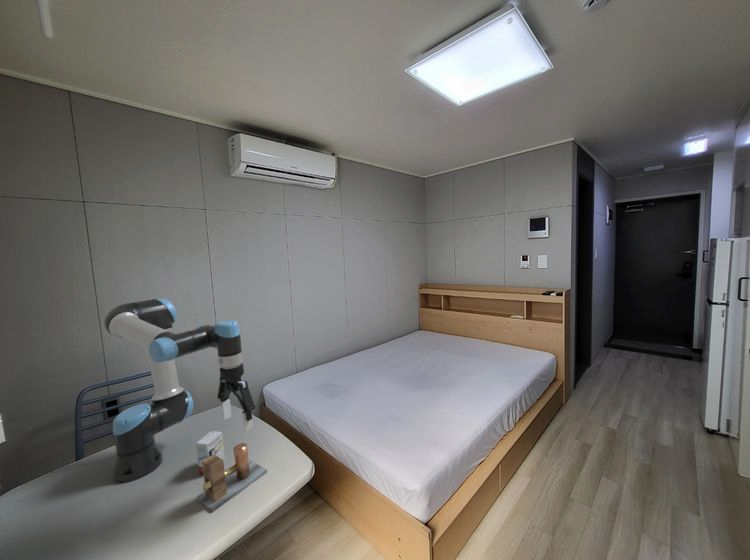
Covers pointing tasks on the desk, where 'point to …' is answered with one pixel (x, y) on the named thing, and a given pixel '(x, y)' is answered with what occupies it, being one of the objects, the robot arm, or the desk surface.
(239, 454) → the copper-capped brass rod
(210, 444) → the ink box
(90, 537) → the desk surface
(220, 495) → the eye post
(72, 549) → the desk surface
